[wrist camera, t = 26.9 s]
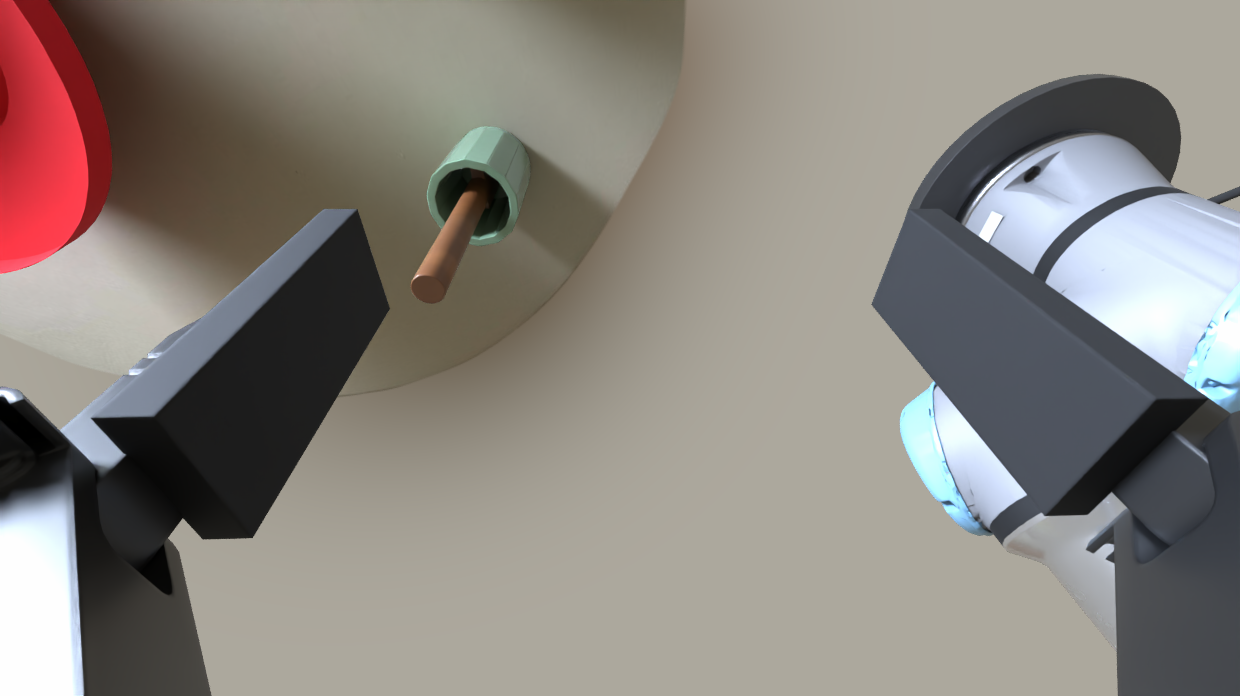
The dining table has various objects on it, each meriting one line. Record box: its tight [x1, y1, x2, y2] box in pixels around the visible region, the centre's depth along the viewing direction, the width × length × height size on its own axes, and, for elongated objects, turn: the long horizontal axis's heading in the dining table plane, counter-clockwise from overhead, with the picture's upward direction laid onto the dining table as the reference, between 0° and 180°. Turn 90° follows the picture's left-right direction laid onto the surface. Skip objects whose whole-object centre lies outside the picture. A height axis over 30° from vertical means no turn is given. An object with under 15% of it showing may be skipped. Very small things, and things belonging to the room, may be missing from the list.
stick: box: [411, 168, 499, 304], centre depth 34 cm, size 2×3×20 cm, turn 179°
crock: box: [427, 126, 531, 246], centre depth 39 cm, size 6×6×9 cm
